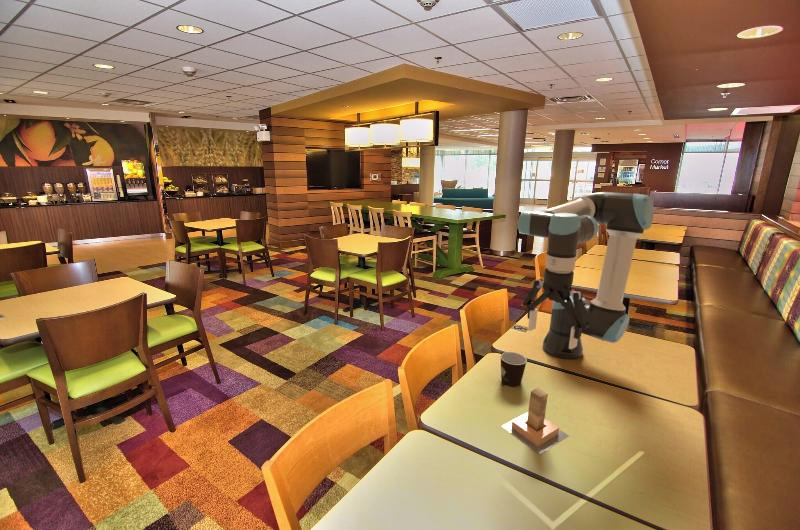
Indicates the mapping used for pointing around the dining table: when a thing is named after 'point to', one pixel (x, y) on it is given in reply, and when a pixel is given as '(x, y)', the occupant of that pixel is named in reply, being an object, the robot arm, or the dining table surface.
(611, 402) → the dining table surface
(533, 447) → the plate
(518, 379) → the coffee mug
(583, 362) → the dining table surface
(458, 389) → the dining table surface
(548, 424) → the orange square frame
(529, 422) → the brown wooden block
